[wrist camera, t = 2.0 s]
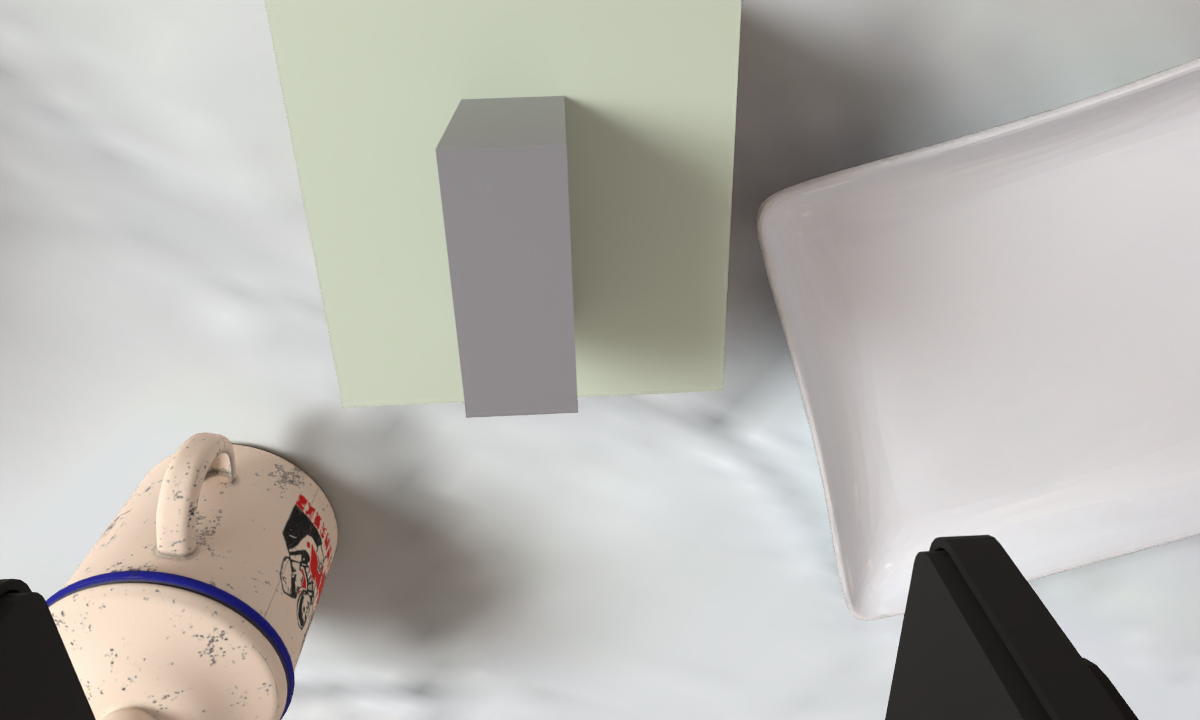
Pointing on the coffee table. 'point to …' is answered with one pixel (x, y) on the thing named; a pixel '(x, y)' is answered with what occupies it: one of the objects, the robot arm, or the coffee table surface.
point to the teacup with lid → (200, 588)
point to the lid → (515, 194)
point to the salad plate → (1003, 337)
